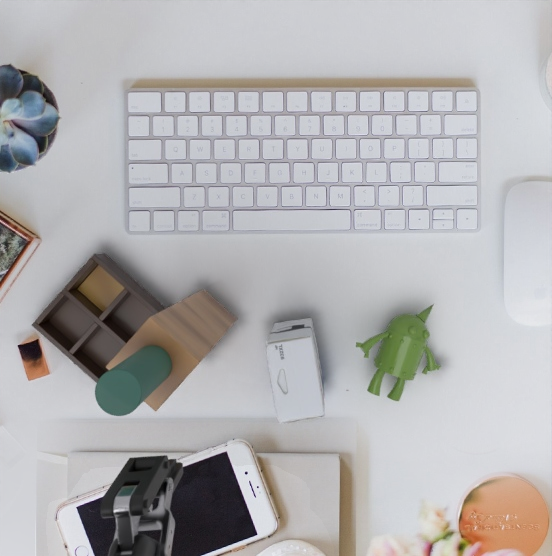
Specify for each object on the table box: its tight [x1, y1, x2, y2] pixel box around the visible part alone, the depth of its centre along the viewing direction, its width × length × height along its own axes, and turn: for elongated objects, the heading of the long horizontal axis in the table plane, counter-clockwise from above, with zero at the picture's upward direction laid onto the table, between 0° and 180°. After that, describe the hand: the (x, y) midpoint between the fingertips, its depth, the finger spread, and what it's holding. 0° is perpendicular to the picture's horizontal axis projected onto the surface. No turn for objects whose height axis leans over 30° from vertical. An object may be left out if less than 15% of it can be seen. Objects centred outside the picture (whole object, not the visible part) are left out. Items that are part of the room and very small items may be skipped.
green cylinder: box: [94, 345, 172, 417], centre depth 42 cm, size 3×3×8 cm
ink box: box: [265, 317, 326, 425], centre depth 62 cm, size 8×5×12 cm, turn 9°
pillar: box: [106, 288, 238, 412], centre depth 57 cm, size 6×6×22 cm
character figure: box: [355, 303, 441, 402], centre depth 65 cm, size 12×5×12 cm
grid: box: [31, 252, 167, 384], centre depth 67 cm, size 11×11×3 cm
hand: (174, 523), depth 43 cm, fingers open, 8 cm apart
